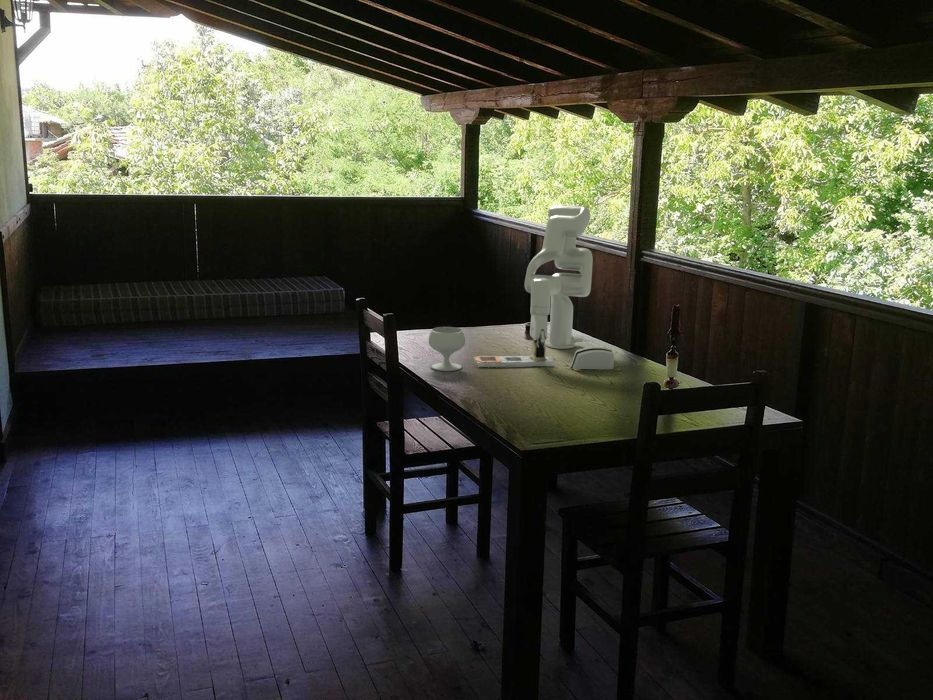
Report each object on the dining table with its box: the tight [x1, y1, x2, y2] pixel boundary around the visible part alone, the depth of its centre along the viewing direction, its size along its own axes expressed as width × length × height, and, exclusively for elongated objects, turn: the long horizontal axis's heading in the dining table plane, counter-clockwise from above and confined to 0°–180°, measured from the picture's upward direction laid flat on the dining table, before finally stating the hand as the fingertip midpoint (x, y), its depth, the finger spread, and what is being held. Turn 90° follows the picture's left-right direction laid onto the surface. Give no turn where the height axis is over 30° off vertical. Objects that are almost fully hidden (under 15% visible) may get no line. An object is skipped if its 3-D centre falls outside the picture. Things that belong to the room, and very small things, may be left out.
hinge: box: [569, 346, 615, 370], centre depth 339 cm, size 17×5×10 cm, turn 102°
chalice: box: [428, 326, 466, 372], centre depth 335 cm, size 14×14×15 cm
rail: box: [473, 354, 555, 369], centre depth 345 cm, size 30×10×2 cm, turn 99°
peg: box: [530, 342, 547, 361], centre depth 346 cm, size 4×4×8 cm
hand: (538, 355), depth 346 cm, fingers open, 4 cm apart
